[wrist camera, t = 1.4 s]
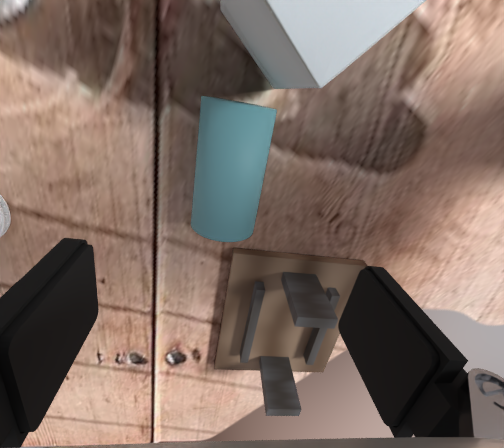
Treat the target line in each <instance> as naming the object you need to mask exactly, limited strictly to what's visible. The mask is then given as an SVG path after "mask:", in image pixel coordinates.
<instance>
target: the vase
mask: <svg viewBox="0 0 504 448" xmlns="http://www.w3.org/2000/svg"><path fill="white" fill-rule="evenodd" d="M10 222H11V215H10V211H9V208H8V205H7V203H6V201H5V200H4V198H3V197H2V196H1V194H0V237H1V236H3V235H4V234H5V233H6V232H7V230H8V228H9V226H10Z"/></svg>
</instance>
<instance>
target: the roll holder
mask: <svg viewBox="0 0 504 448" xmlns="http://www.w3.org/2000/svg"><path fill="white" fill-rule="evenodd" d="M366 266H367V264H366V263H365V262H364V261H362V260H352V259H342V258H332V257H322V256H312V255H301V254H291V253H281V252H271V251H261V250H251V249H241V248H233V253H232V259H231V266H230V272H229V278H228V284H227V290H226V296H225V302H224V308H223V314H222V320H221V326H220V332H219V338H218V344H217V350H216V357H215V367H214V369H226V370H260V373H261V380H262V388H263V396H264V404H265V411H266V416H299V414H300V412H301V406H300V402H299V398H298V394H297V389H296V385H295V381H294V377H293V373H292V371H295V372H323V371H324V369H325V367H326V364H327V362H328V360H329V357H330V355H331V353H332V350H333V348H334V346H335V343H336V341H337V338H338V336H339V334H340V332H339V329H338V323H339V320H340V318H341V315H342V313H343V310H344V308H345V306H346V303H347V301H348V298H349V296H350V293H351V291H352V289H353V286H354V284H355V281H356V279H357V276H358V274H359V272H360V271H361V270H362V269H364V268H365V267H366Z"/></svg>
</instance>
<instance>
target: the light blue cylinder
mask: <svg viewBox="0 0 504 448" xmlns="http://www.w3.org/2000/svg"><path fill="white" fill-rule="evenodd" d="M276 113H277V110H276V109H272V108H268V107H264V106H259V105H254V104H249V103H244V102H238V101H233V100H227V99H221V98H215V97H208V96H201V108H200V120H199V132H198V144H197V156H196V168H195V180H194V192H193V204H192V216H191V227H192V229H193V230H194V231H195V232H196V233H197V234H199V235H201V236H203V237H205V238H208V239H211V240H215V241H221V242H237V241H242V240H245V239H247V238H249V237H250V236H251V235H252V234H253V230H254V225H255V220H256V215H257V210H258V205H259V200H260V195H261V189H262V184H263V179H264V174H265V169H266V164H267V159H268V154H269V148H270V143H271V138H272V133H273V128H274V123H275V118H276Z"/></svg>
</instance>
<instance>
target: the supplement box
mask: <svg viewBox="0 0 504 448" xmlns="http://www.w3.org/2000/svg"><path fill="white" fill-rule="evenodd" d="M425 1H426V0H220V9H221V12H222V13H223V15H224V16H225V17H226V19H227V20H228V22H229V23H230V25H231V26H232V28H233V29H234V31H235V32H236V34H237V35H238V37H239V38H240V40H241V41H242V43H243V44H244V46H245V47H246V49H247V50H248V52H249V53H250V55H251V56H252V58H253V59H254V61H255V62H256V64H257V65H258V67H259V68H260V70H261V71H262V73H263V74H264V76H265V77H266V78H267V80H268V81H269V83H270V84H271V86H272V87H273V88H274V89H291V88H322V87H323V86H325V85H326V84H327V83H328V82H330V81H331V80H332V79H333V78H335V77H336V76H337V75H338V74H340V73H341V72H342V71H343V70H344V69H346V68H347V67H348V66H349V65H350V64H352V63H353V62H354V61H355V60H356V59H357V58H359V57H360V56H361V55H362V54H363V53H365V52H366V51H367V50H368V49H369V48H371V47H372V46H373V45H374V44H375V43H377V42H378V41H379V40H380V39H381V38H382V37H384V36H385V35H386V34H387V33H388V32H390V31H391V30H392V29H393V28H394V27H395V26H397V25H398V24H399V23H400V22H401V21H402V20H404V19H405V18H406V17H407V16H408V15H410V14H411V13H412V12H413V11H414V10H415V9H417V8H418V7H419V6H420V5H421V4H422V3H424V2H425Z"/></svg>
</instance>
